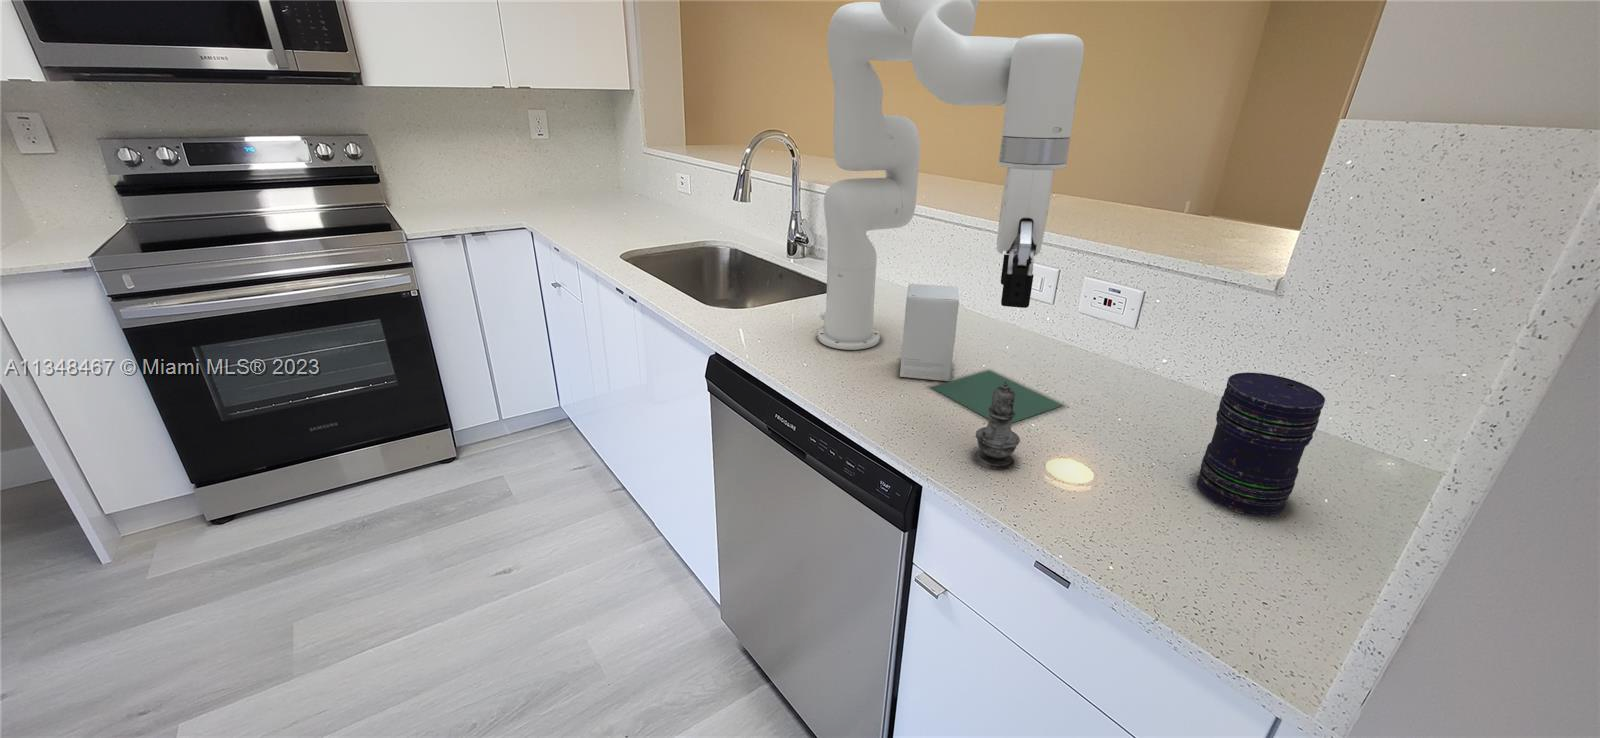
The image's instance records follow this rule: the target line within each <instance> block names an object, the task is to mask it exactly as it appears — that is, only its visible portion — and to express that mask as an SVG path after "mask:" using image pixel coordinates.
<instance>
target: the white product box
mask: <svg viewBox="0 0 1600 738" xmlns="http://www.w3.org/2000/svg"><path fill="white" fill-rule="evenodd" d="M906 293H907V294H906V302H905V309H904V311H905V312H904V320H903V321H904V322H903V333H902V345H901V355H900V357H901V358H900V360H901V361H900V369H899V377H901V378H912V379H921V380H930V381H931V380H933V381H941V382H943V381H944V382H951V373H952V367H953V357H954V349H955V342H956V332H957V322H958V315H959V314H958V313H959V305H960V297H959V289H958V286H952V285H935V284H924V283H923V284H921V283H908V286H907V292H906Z"/></svg>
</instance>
